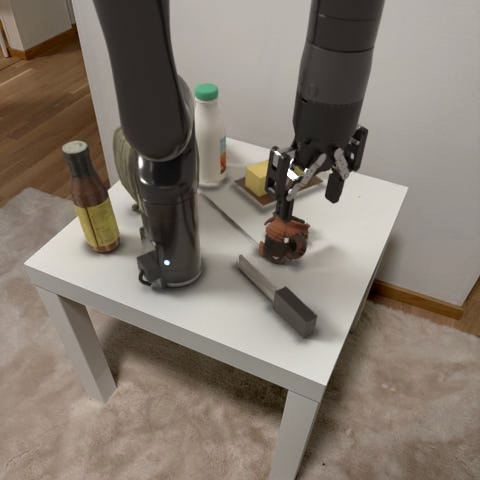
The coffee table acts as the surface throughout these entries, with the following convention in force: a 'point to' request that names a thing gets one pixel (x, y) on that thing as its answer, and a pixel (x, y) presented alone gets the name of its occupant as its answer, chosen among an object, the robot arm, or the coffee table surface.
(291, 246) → the pottery mug
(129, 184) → the tabletop clock
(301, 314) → the knife
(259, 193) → the butter stick
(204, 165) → the milk bottle
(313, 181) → the butter board
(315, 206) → the coffee table surface
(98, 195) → the sauce bottle
